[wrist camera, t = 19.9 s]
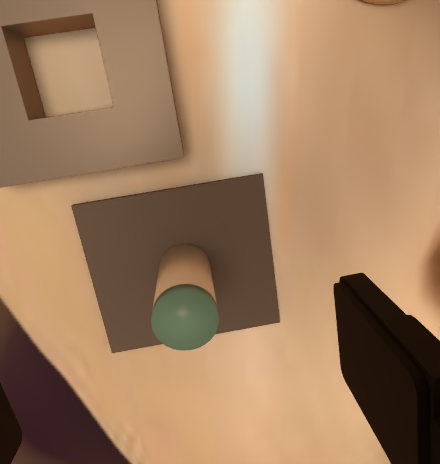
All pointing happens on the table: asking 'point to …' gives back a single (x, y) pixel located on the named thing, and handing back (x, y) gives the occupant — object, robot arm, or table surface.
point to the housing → (90, 122)
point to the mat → (175, 233)
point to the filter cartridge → (184, 299)
